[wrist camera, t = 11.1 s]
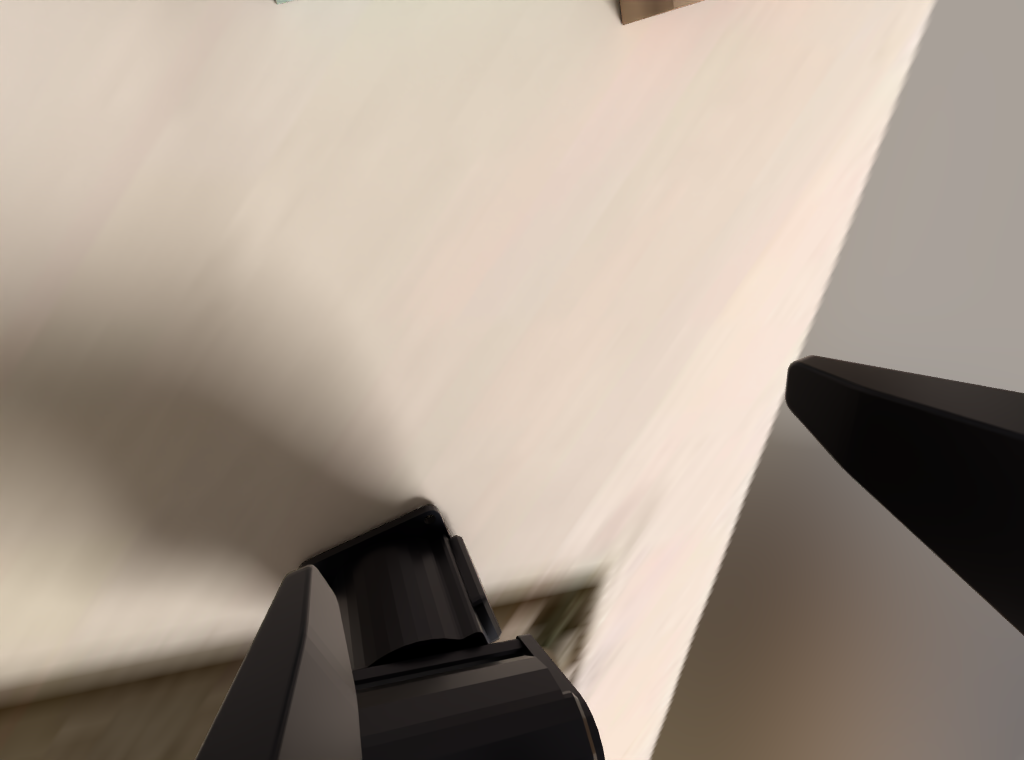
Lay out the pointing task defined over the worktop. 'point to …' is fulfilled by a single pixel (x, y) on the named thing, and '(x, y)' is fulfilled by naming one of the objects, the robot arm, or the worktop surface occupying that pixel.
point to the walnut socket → (649, 8)
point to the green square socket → (282, 1)
